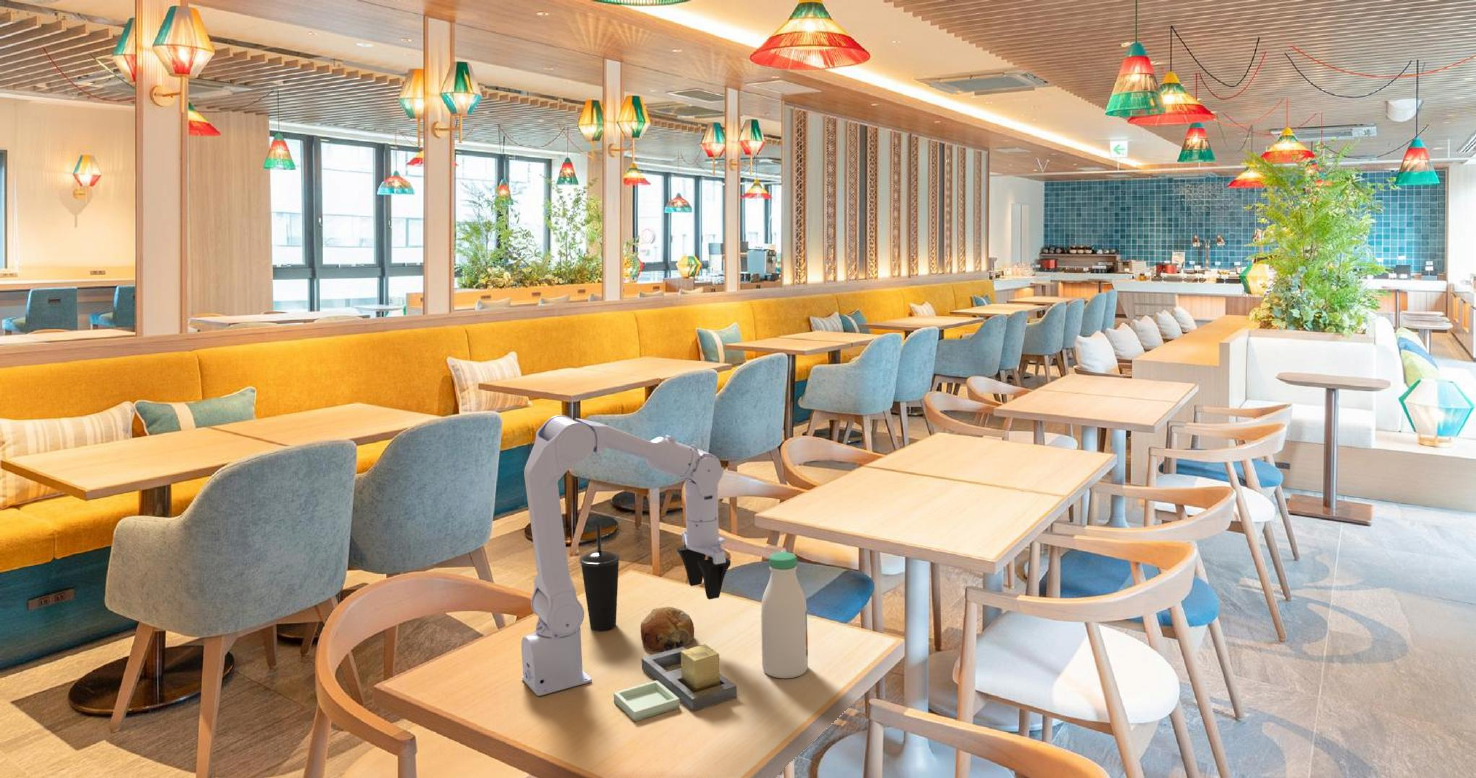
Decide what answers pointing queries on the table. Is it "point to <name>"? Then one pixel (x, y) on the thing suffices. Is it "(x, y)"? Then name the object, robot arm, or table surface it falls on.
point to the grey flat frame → (674, 681)
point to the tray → (646, 700)
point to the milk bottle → (784, 620)
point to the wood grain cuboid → (700, 668)
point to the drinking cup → (601, 585)
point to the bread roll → (666, 629)
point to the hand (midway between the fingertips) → (704, 591)
